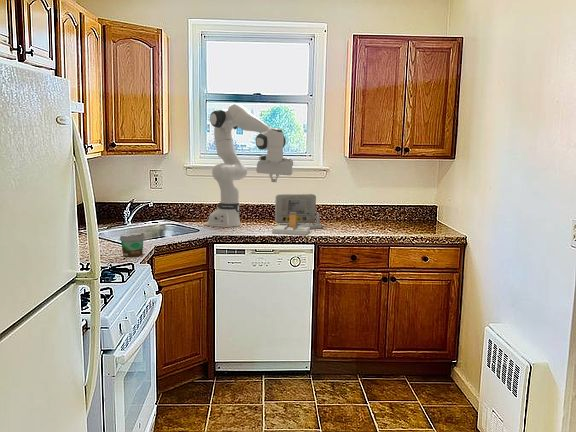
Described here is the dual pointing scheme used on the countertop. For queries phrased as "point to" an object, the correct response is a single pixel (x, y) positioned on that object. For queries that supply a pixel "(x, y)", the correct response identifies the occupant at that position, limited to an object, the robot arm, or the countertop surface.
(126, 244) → the food container
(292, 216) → the switch tab
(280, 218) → the network device
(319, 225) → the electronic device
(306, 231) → the switch panel
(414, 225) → the countertop surface
